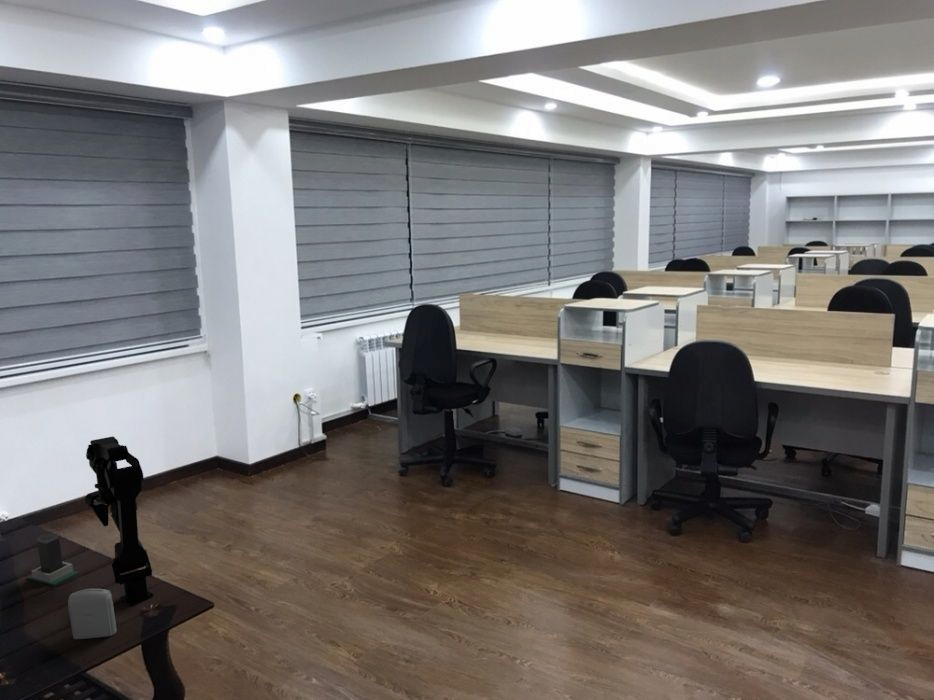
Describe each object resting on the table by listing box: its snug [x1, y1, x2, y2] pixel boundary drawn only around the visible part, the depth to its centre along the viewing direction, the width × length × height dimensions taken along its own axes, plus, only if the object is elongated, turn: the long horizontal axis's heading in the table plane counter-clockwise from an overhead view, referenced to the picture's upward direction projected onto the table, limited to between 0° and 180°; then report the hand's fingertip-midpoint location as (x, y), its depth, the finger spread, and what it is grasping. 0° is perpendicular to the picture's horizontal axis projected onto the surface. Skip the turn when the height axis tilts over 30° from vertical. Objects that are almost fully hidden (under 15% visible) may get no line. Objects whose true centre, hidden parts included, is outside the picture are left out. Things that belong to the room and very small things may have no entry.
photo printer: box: [67, 588, 117, 640], centre depth 187 cm, size 10×4×12 cm, turn 96°
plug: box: [36, 532, 63, 574], centre depth 218 cm, size 4×4×12 cm
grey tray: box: [26, 561, 80, 587], centre depth 219 cm, size 12×8×3 cm, turn 66°
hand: (114, 529), depth 220 cm, fingers open, 9 cm apart
